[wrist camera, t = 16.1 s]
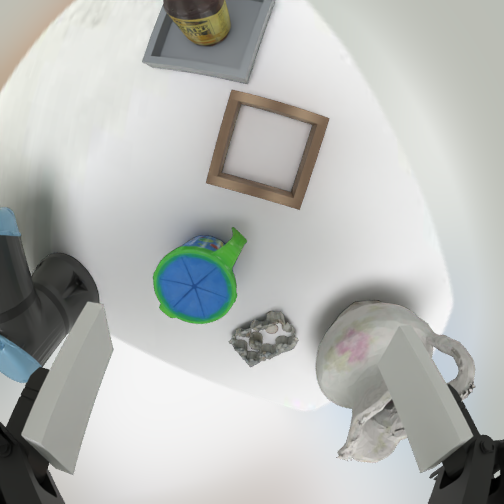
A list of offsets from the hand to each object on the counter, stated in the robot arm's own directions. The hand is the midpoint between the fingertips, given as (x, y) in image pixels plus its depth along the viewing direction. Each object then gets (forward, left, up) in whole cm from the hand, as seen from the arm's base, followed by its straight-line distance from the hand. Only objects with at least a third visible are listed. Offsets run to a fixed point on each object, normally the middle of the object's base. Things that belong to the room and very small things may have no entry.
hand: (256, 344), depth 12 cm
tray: (-13, +21, -31) cm, 40 cm away
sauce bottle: (-13, +21, -30) cm, 39 cm away
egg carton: (+7, -23, -32) cm, 40 cm away
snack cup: (-5, -12, -31) cm, 34 cm away
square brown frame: (-1, +6, -31) cm, 32 cm away
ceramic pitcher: (+24, -16, -31) cm, 43 cm away
